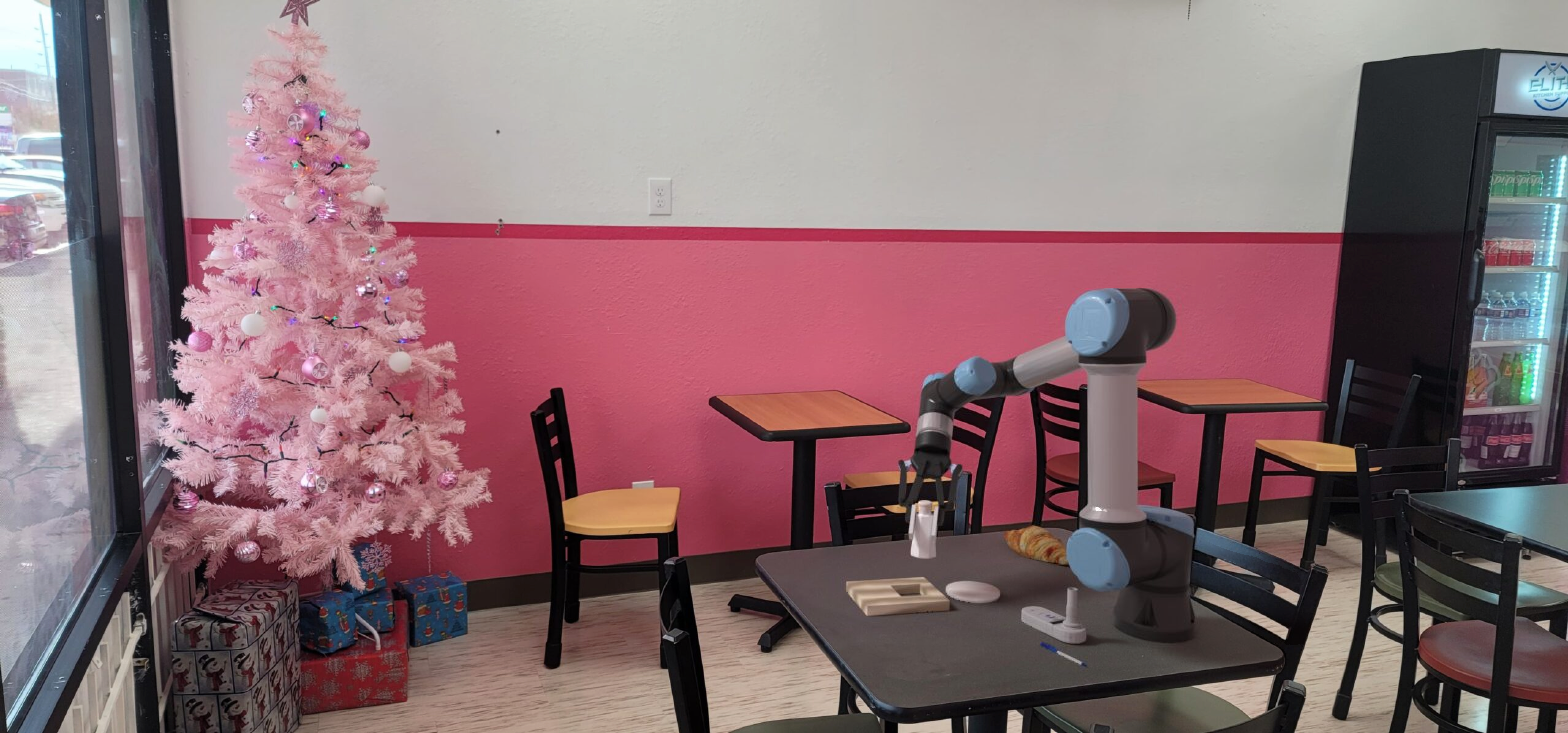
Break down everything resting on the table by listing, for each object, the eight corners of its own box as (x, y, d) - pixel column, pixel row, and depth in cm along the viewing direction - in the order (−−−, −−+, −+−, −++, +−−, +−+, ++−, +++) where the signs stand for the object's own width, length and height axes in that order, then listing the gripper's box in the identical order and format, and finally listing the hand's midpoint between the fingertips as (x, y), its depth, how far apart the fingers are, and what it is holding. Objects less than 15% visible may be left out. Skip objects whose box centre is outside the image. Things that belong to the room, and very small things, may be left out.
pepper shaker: (916, 559, 203) (918, 506, 202) (905, 551, 209) (907, 499, 207) (941, 557, 205) (943, 504, 203) (930, 549, 210) (932, 497, 209)
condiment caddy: (949, 610, 202) (949, 600, 201) (867, 615, 198) (867, 606, 197) (923, 586, 215) (923, 577, 215) (846, 591, 211) (846, 581, 211)
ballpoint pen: (1038, 646, 185) (1039, 641, 185) (1042, 646, 186) (1042, 640, 186) (1084, 668, 177) (1085, 662, 177) (1087, 667, 177) (1088, 662, 177)
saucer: (1009, 601, 207) (1009, 597, 207) (958, 605, 205) (958, 601, 205) (986, 583, 218) (986, 579, 218) (937, 586, 215) (937, 582, 215)
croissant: (1078, 580, 232) (1092, 548, 233) (1051, 567, 226) (1066, 534, 227) (1011, 553, 249) (1024, 523, 250) (985, 539, 244) (998, 509, 245)
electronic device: (1038, 568, 200) (1094, 591, 186) (1037, 617, 201) (1092, 643, 188) (1016, 572, 197) (1071, 595, 184) (1015, 621, 198) (1070, 648, 185)
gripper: (974, 451, 217) (965, 550, 203) (895, 446, 221) (881, 542, 207) (973, 432, 211) (965, 532, 198) (892, 426, 215) (878, 524, 201)
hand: (922, 537), depth 202 cm, fingers closed on pepper shaker, 4 cm apart
